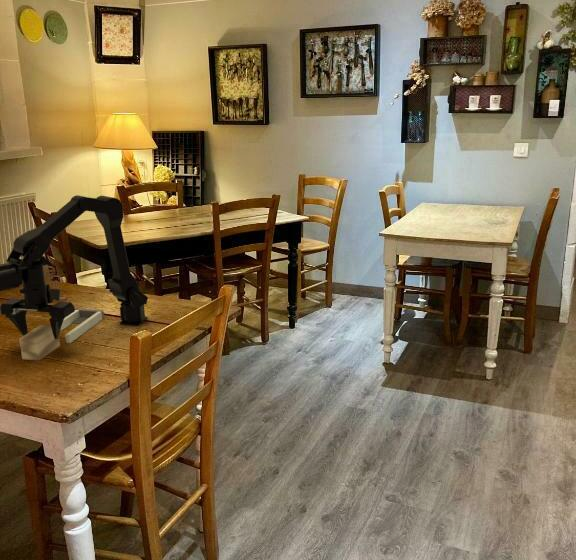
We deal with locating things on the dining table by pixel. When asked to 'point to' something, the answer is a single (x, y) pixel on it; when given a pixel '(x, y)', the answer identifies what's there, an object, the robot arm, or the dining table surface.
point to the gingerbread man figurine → (62, 297)
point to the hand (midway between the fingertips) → (41, 337)
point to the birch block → (38, 343)
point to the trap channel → (81, 322)
